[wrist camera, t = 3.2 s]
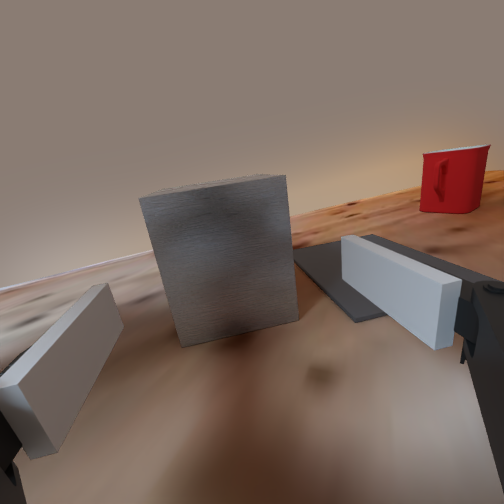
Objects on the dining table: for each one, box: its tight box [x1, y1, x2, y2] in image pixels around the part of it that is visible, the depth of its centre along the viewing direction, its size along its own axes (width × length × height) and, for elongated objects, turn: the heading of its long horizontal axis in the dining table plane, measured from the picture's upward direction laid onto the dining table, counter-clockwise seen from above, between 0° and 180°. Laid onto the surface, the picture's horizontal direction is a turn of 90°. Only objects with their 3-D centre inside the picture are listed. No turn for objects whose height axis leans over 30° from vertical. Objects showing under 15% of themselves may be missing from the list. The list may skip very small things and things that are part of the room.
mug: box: [420, 145, 491, 214], centre depth 45 cm, size 12×8×11 cm
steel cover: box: [139, 174, 299, 347], centre depth 23 cm, size 10×10×12 cm
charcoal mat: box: [293, 234, 502, 323], centre depth 29 cm, size 14×18×1 cm
